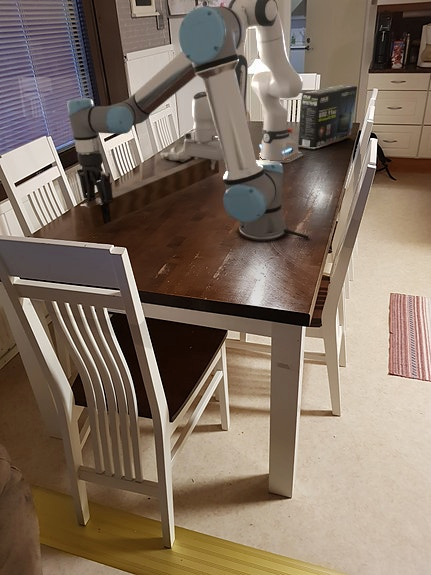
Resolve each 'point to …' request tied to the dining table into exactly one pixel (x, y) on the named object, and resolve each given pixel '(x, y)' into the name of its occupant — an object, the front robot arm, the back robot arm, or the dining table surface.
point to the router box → (326, 115)
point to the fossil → (176, 153)
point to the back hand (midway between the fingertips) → (206, 168)
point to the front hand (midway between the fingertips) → (102, 220)
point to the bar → (148, 191)
